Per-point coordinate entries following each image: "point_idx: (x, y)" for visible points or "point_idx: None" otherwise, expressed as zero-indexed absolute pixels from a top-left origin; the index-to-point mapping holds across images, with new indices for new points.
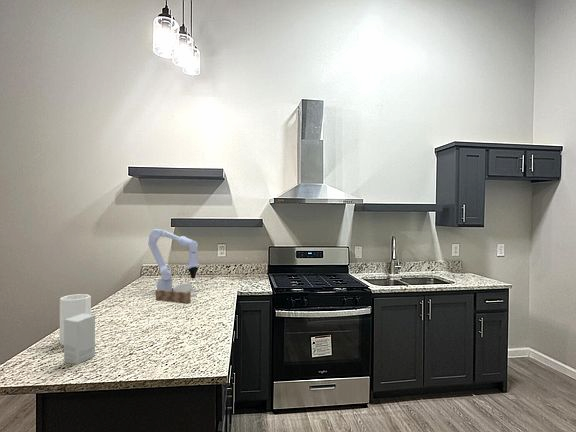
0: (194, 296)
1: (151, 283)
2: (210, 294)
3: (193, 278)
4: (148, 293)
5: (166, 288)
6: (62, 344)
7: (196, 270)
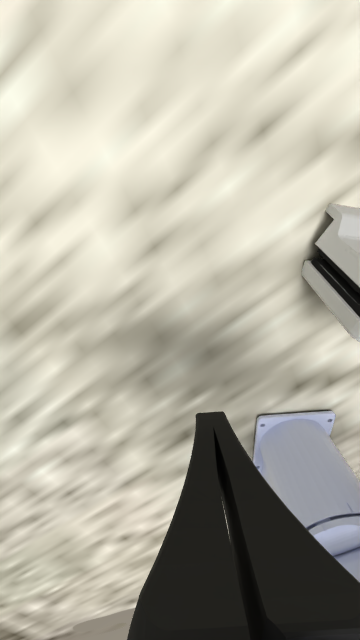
0: (356, 208)
1: (124, 577)
2: (212, 113)
3: (224, 415)
4: None
5: (342, 457)
6: None
7: (212, 551)
